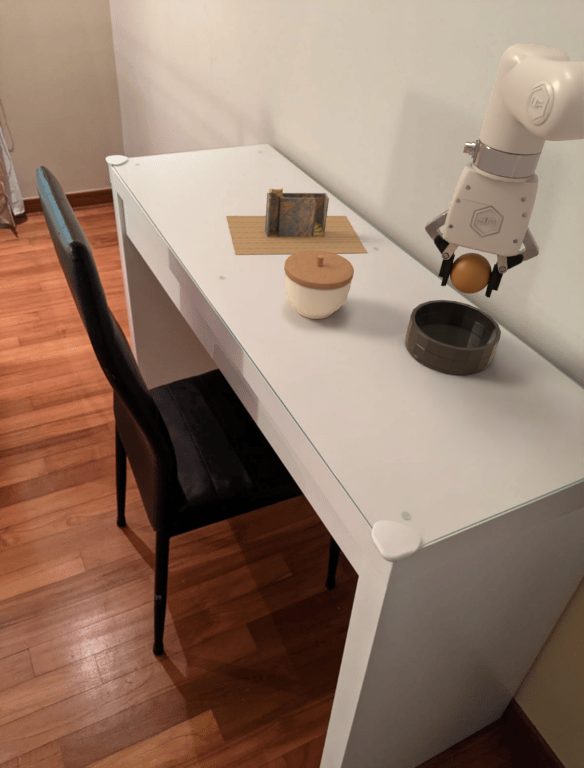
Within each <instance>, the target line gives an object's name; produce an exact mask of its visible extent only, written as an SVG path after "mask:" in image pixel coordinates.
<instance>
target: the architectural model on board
mask: <svg viewBox="0 0 584 768" xmlns="http://www.w3.org/2000/svg"><path fill="white" fill-rule="evenodd" d="M283 190H284V188H283V187H281V188H269V189H268V192H267V193H266V206H265V207H266V208H265V215H226V216H225V218H226V221H227V225H228V229H229V233H230V238H231V241H232V246H233V250H234V254H235V255H238V256H240V255H247V256H248V255H249V256H250V255H292V254H294V253H297V252H300V251H305V250H321V251H328V252H331V253H335V254H368V251H367V249H366V248H365V245H363V243H362V241H361V239H360V237H359V236H358V234H357V232H356V230H355V229H354V227H353V225H352V224H351V222H350V220H349V219H348V217H347V215H328V210H329V203H330V198H329V196H328V194H327V193H326V192H284V191H283Z"/></svg>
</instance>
